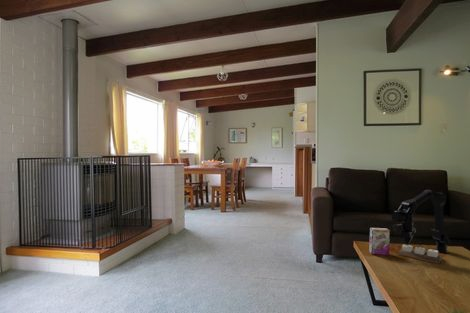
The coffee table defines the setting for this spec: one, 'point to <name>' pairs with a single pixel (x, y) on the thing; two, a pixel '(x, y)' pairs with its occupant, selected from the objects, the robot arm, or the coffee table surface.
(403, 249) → the three pip tile
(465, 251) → the coffee table surface
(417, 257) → the brown dotted block frame
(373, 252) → the candy bar box
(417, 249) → the two pip tile
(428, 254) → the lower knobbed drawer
